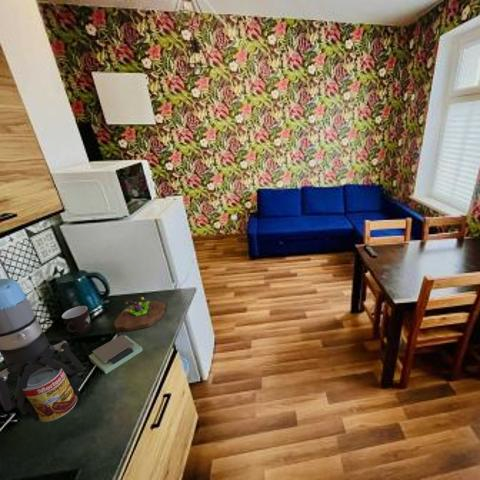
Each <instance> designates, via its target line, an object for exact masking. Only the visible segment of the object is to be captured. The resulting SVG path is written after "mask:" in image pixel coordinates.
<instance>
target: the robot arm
mask: <svg viewBox="0 0 480 480" xmlns="http://www.w3.org/2000/svg"><path fill="white" fill-rule="evenodd" d="M55 351H57V352H60V353H63V354H64V356H66V357H67V358H68V360H69V361H70V362H71V363H72V364H73V366H70V365H67V364H65V363H63V362H61V361H59V360H58V359H57V360H56V359H55V358H53V355H54V354H55ZM0 355H1V357H2V358H3V360H4V362H5V363H6V365H5V368H4V369H2V370H1V371H0V403H1V406H2V408H3V409H4V411H5V412H9V411H12V409H14V408H18V410H19V412H20V414H21V415H23V416H25V415H27V414H30V415H31V417H32V418H33V420H34V422H35V423H36V422H38V421H40V419H39V417H38V416H37V414H36V413H35V411H34V409H33V408H32V406H31V404H30V403H29V401H28V400H27V398H26V397H25V395H26V394H25V393H24V391H23V389H26V388H27V383H28V379H29V376H30V374H32V373H34V372H35V371H37V370H38V369H41V368H44V367H45V366H47V365H48V366H50V367H53V368H56V369H58V370H60V369H61V368H62V369H63V371H64V373H65V374H66V376H67V378H68V380H69V382H70V384H71V386H72V388H73V390H74V392H75V394H76V396H79V395H81V392H80V390H79V389H78V385H77V384H78V383H79V382H80V377H79V375H78V371H79V370H82V369H83V368H84V365H83V363H82V362H80V360H79V359H78V358H77V357H76V355H75V354H74V353H73V352H72V351H71V350H70V344H69V342H68V341H66V340H65V339H61V340H60V341H59V343H56V344H54V345H53V344H50V342H49V340H48V338H47V336H46V334H45V332H43V329H42V327H41V325H40V323H39V320H38V319H37V317H36V315H35V313H34V311H33V308H32V306H31V304H30V302H29V300H28V298H27V295H26V292H25V291H24V290H23V288H22V287H21V285H20V284H19V283H18V281H17V280H15V279H13V278H0ZM9 374H16V375H17V380H16V386H15V392H14V398H13V399H11V395H10V391H9V387H8V384H7V382H6V381H7V380H8V378H9V376H8V375H9Z"/></svg>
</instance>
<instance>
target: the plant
mask: <svg viewBox="0 0 480 480" xmlns="http://www.w3.org/2000/svg"><path fill="white" fill-rule="evenodd" d="M139 300H141V301H140V302H139ZM142 301H144V302H142ZM129 303H131V304H130V305H128V304H129ZM124 304H125V305H128V306H126V307H125V308H124V309H123V310H122V311H121V312H120V313H119V315H118V316H117V317H116V319H115V320H114V321H113V326H114V328H115V330H116V332H120V331H124V332H126V333H127V332H133V331H137V330H141V329H147V328H151V327H152V326H153V325H154V324H156V323H157V322H159V321H160V320H161V319H162V317H163V316H164V315H165V314H166V310H165V309H166V307H167V305H166V302H163V301H156V300H153V301H150V300H148V301H145V297H144V296H138V297H137V298H136V299H135V301H132V300H125V302H124Z"/></svg>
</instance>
